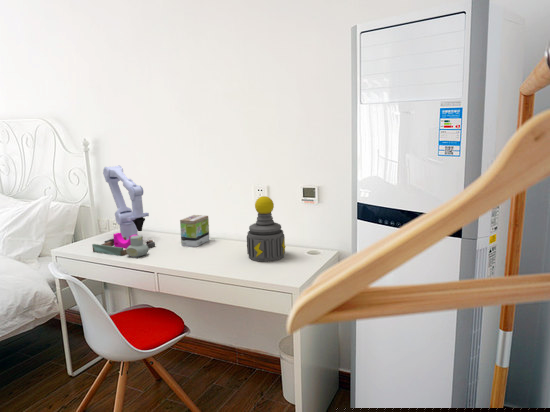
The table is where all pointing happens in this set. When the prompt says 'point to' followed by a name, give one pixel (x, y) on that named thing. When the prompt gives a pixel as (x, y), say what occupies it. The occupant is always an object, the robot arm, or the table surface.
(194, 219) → the tea box
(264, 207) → the decorative lamp
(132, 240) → the air freshener
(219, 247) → the table surface
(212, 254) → the table surface
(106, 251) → the trap channel
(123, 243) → the toy block
